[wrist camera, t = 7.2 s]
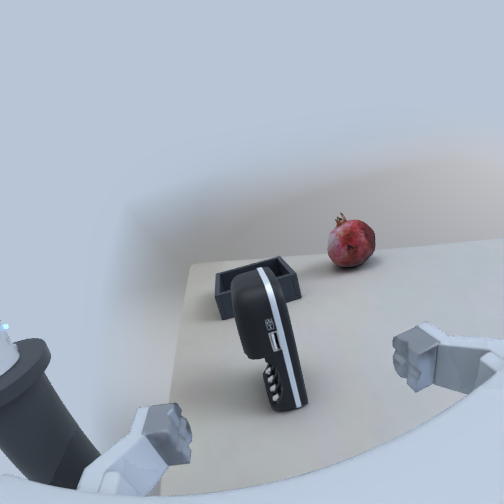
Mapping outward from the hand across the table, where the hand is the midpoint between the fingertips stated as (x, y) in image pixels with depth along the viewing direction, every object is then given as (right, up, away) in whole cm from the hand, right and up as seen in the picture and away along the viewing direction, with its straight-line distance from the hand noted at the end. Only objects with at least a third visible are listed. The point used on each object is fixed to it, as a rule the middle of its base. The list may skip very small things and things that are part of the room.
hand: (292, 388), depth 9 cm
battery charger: (+1, -8, +15) cm, 17 cm away
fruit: (+18, +2, +43) cm, 46 cm away
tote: (-1, -3, +41) cm, 41 cm away
